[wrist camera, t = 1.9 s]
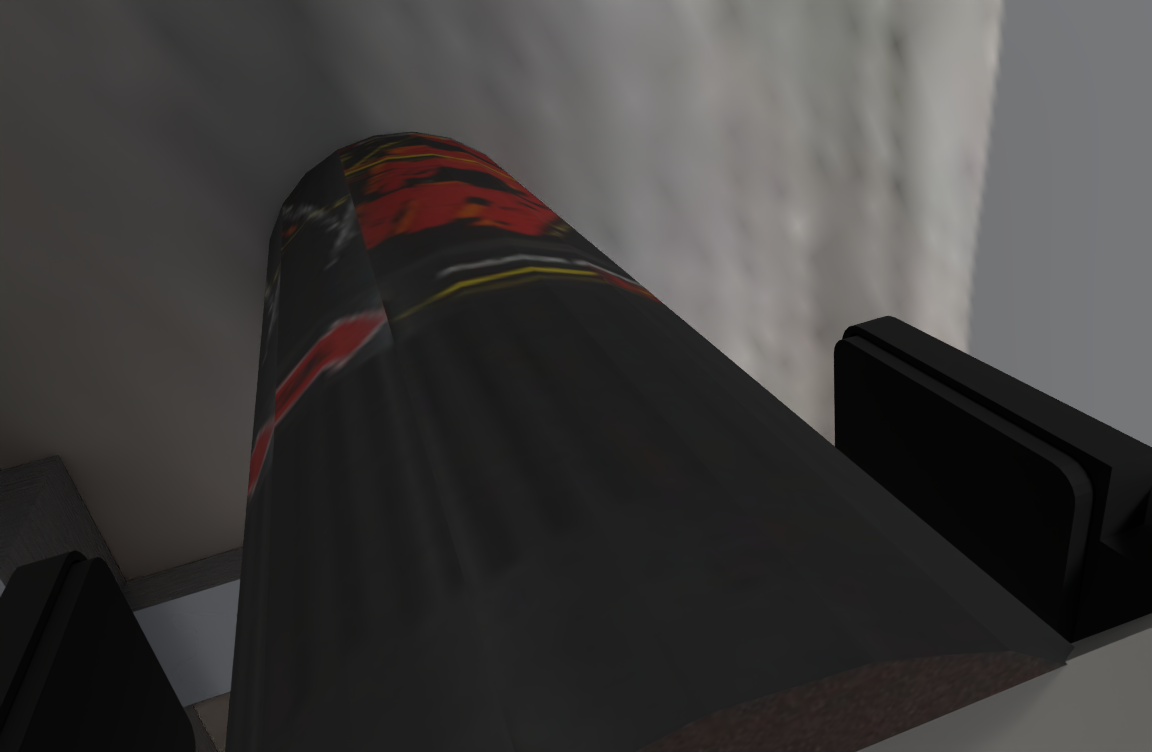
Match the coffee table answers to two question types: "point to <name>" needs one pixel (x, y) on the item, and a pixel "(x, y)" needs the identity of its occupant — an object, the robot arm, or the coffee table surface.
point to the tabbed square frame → (131, 583)
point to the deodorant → (560, 507)
